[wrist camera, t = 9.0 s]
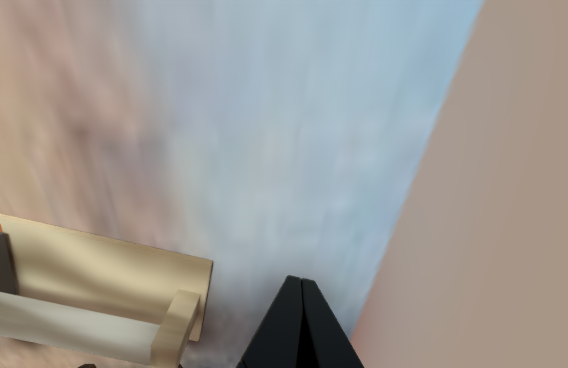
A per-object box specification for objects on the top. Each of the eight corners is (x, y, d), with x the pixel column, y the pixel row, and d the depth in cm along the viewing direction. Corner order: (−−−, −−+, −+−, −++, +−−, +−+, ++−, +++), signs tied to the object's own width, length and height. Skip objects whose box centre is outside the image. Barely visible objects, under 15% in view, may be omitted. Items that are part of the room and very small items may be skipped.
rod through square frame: (200, 336, 30) (177, 403, 25) (-69, 280, 29) (-156, 338, 23) (213, 260, 26) (188, 321, 20) (-102, 190, 24) (-221, 235, 19)
